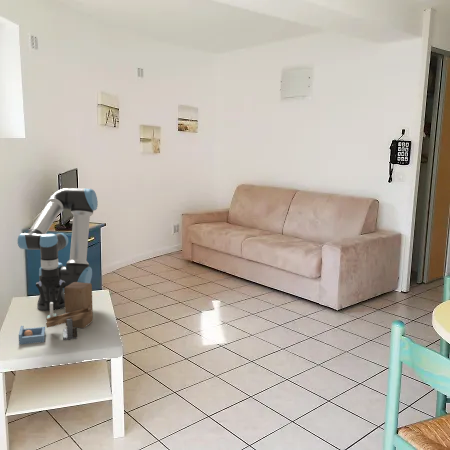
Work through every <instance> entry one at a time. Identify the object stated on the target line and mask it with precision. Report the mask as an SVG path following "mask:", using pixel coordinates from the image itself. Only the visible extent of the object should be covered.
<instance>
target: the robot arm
mask: <svg viewBox="0 0 450 450" xmlns="http://www.w3.org/2000/svg"><path fill="white" fill-rule="evenodd" d="M44 205H45V206H44V208H43V209H42V211H41V212H40V214H39V215H38V217H37V218H36V219H35V221H34V222H33V224H32V225H31V227H30V229H29V230H28V231H27V232H24V233H20V234H19V235H18V237H17V245H18V247H19V249H21V250H31V251H32V250H35V251H36V250H39V251H40V267H39V269H38V270H39V271H38V277H39V279H38V280H39V281H37V282H36V283H35V287H36V288H37V289H38V292H39V296H38V299H37V304H36V305H37V309H38V310H39V311H44V312H49V315H50V317H54V314H55V313H54V311H58V310H62V309H65V298H64V288H65V287H66V286H68V285H70V284H71V283H73V282H81V283H91V281H92V278H93V269H92V267H91V266H90V264H89V262H88V260H87V256H88V246H89V244H88V243H89V231H90V221H91V220H90V219H91V216H92V215H94V211H97V209H98V207H99V206H98V196H97V194H96V192H95V190H94V189H92V188H86V187H84V188H81V187H80V188H79V187H77V188H75V187H74V188H73V187H64V188H61V189H58V190H57V191H55V192H54V193H53V194H51V195H50V196H49V197H48V198H47V200H46V201H45V203H44ZM65 210H70V213H71V214H72V216H73V217H72V218H73V219H72V227H71V242H70V252H69V260H67V262H66V263H65V264H66V265H65V266H64V265H63V263H62V262H59V251H61V250H63V249H65V248H66V247H67V246H68V244H69V237H68V236H67V235H66V234H65V233H63V232H58V233H48V231H49V229H51V226H53V223H54V222H55V220H56V218H57V217H58V215H59V214H61V213H62V212H63V211H65Z"/></svg>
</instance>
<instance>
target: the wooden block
mask: <svg viewBox="0 0 450 450" xmlns="http://www.w3.org/2000/svg"><path fill="white" fill-rule="evenodd" d="M63 292H64V298H65V307H64V314H66V313H67V312H73V311H77V310H81V309H85V308H88V305H90V307H91V311H92V316H90V317H86V318H83V319H79V320H75V321H72V322H73V328H78V329H85V328H86V327H88V326H89V325H90V324H91V323H92V322H93V320H94V315H93V314H94V313H93V312H94V311H93V310H94V309H93V285H92V283H91V282H90V283H81V282H73V283H71V284H70V285H68V286H66V287H65V288H63ZM65 327H67V323H65Z"/></svg>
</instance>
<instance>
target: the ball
mask: <svg viewBox="0 0 450 450" xmlns="http://www.w3.org/2000/svg"><path fill="white" fill-rule="evenodd" d="M32 335H33V333H32V331H31V330H27V331H25V333H24V336H32Z"/></svg>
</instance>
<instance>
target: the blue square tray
mask: <svg viewBox="0 0 450 450" xmlns="http://www.w3.org/2000/svg"><path fill="white" fill-rule="evenodd" d="M27 330H31V331H32V333H33V335H32V336H24V333H25V331H27ZM45 338H46V326H39V327H28V328H26V327H24V325H20V328H19V331H18V345H19V346H20V345H28V344H36V343H37V344H38V343H45Z"/></svg>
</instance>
